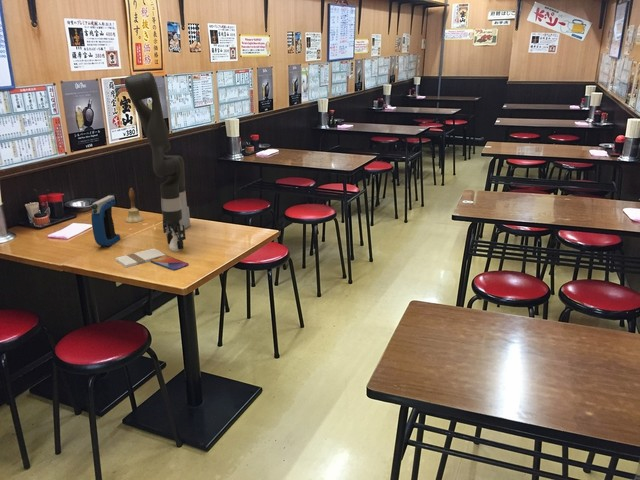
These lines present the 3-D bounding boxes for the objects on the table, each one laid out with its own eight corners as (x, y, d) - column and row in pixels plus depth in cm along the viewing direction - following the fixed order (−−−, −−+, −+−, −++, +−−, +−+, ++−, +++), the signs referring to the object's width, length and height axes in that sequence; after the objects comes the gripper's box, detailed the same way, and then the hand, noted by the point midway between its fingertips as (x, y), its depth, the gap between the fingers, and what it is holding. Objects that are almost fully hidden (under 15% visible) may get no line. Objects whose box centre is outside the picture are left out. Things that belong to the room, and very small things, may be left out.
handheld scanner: (124, 237, 226) (117, 193, 219) (106, 250, 210) (98, 203, 204) (114, 237, 226) (106, 193, 220) (95, 250, 211) (87, 203, 204)
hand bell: (140, 216, 255) (137, 185, 250) (145, 221, 249) (141, 188, 243) (123, 219, 251) (119, 187, 246) (127, 224, 244) (123, 191, 239)
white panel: (154, 250, 210) (153, 248, 210) (165, 257, 203) (165, 254, 203) (115, 260, 200) (114, 257, 199) (126, 267, 193) (125, 265, 192)
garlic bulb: (184, 234, 211) (176, 238, 206) (185, 248, 213) (177, 252, 208) (173, 232, 213) (165, 236, 208) (174, 246, 215) (166, 250, 210)
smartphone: (174, 272, 190) (173, 269, 189) (149, 262, 198) (149, 260, 198) (190, 266, 195) (190, 263, 195) (165, 257, 204) (165, 254, 203)
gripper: (189, 210, 203) (192, 248, 208) (171, 203, 213) (175, 240, 218) (171, 213, 198) (175, 253, 203) (154, 206, 208) (158, 244, 213)
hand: (175, 246), depth 211 cm, fingers open, 8 cm apart
